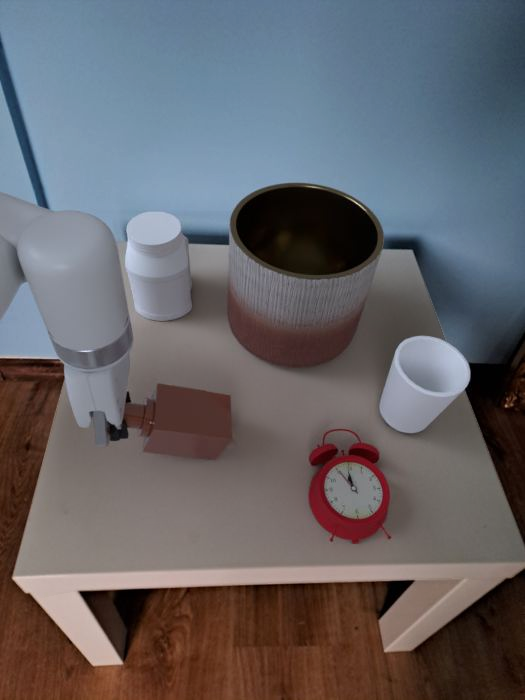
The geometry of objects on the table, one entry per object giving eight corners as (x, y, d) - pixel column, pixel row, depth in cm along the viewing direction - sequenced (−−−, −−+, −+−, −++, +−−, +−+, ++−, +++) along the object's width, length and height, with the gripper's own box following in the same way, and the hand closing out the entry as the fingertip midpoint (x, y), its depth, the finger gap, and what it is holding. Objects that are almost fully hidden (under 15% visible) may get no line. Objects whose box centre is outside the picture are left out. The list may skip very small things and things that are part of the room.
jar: (139, 275, 84) (125, 204, 72) (191, 274, 85) (186, 204, 73) (134, 322, 77) (118, 252, 65) (192, 320, 78) (185, 251, 66)
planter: (227, 275, 85) (228, 178, 70) (344, 278, 87) (370, 183, 71) (226, 372, 72) (227, 278, 56) (364, 373, 74) (402, 282, 58)
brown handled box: (215, 460, 63) (94, 447, 57) (215, 405, 68) (103, 388, 63) (232, 438, 58) (101, 422, 53) (230, 381, 64) (111, 361, 58)
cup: (378, 444, 66) (406, 397, 56) (363, 387, 72) (386, 335, 62) (444, 441, 67) (483, 394, 57) (424, 385, 73) (456, 334, 63)
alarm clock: (319, 544, 53) (308, 419, 60) (310, 546, 59) (301, 432, 65) (406, 540, 54) (385, 417, 61) (388, 542, 60) (372, 430, 66)
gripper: (68, 273, 50) (97, 370, 64) (32, 405, 40) (76, 485, 54) (139, 275, 50) (152, 371, 65) (121, 405, 41) (141, 483, 55)
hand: (117, 422), depth 59 cm, fingers closed on brown handled box, 3 cm apart
